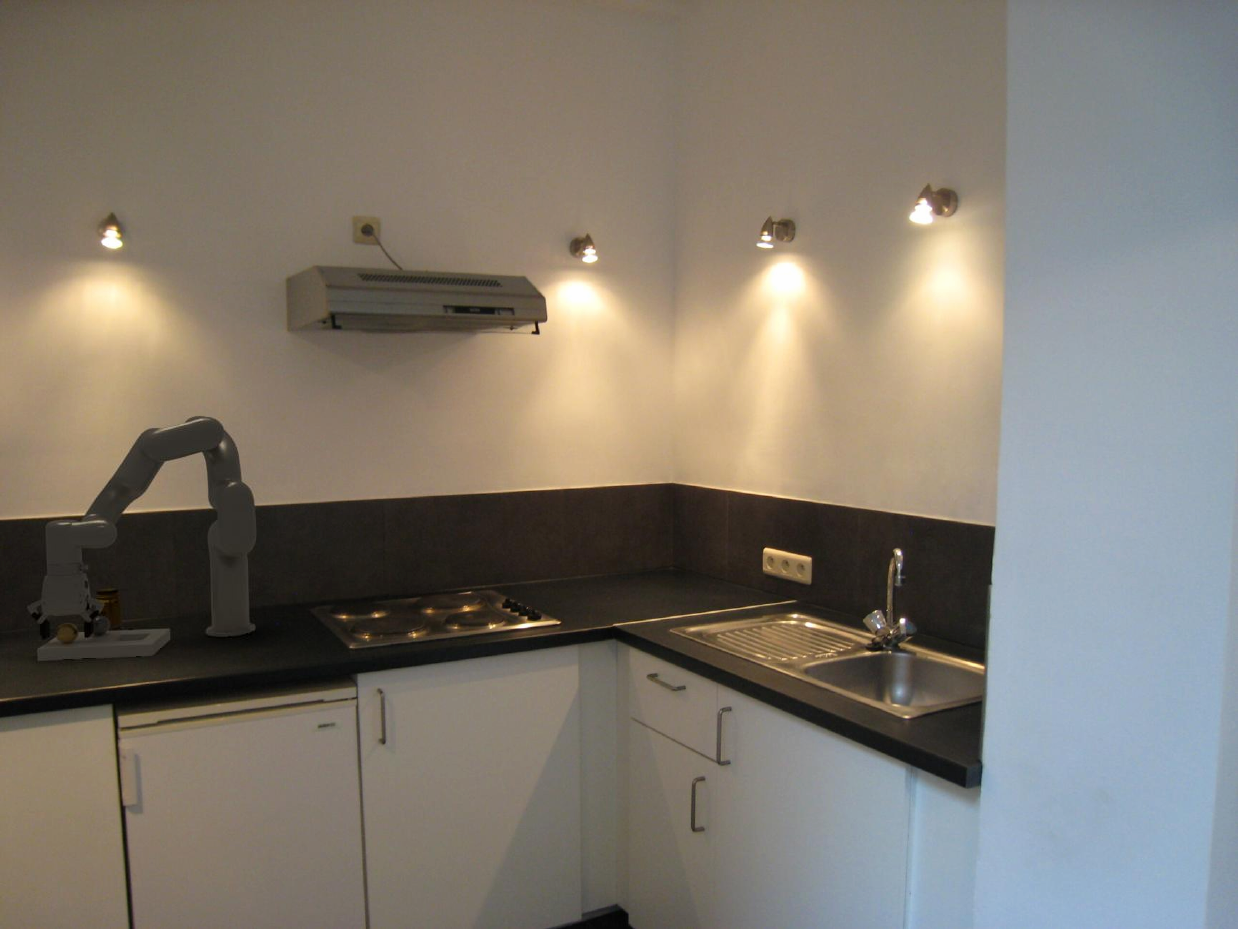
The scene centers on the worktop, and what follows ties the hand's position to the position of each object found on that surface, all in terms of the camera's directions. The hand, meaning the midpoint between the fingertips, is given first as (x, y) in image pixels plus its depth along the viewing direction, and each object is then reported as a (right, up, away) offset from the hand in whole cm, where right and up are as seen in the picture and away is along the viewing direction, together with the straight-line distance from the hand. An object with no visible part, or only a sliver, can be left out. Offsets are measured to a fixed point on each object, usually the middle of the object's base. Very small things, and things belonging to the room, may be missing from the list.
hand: (67, 637), depth 234 cm
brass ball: (0, +1, 0) cm, 1 cm away
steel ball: (+4, +2, +8) cm, 9 cm away
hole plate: (+7, -4, +5) cm, 10 cm away
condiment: (-1, -3, +23) cm, 24 cm away
